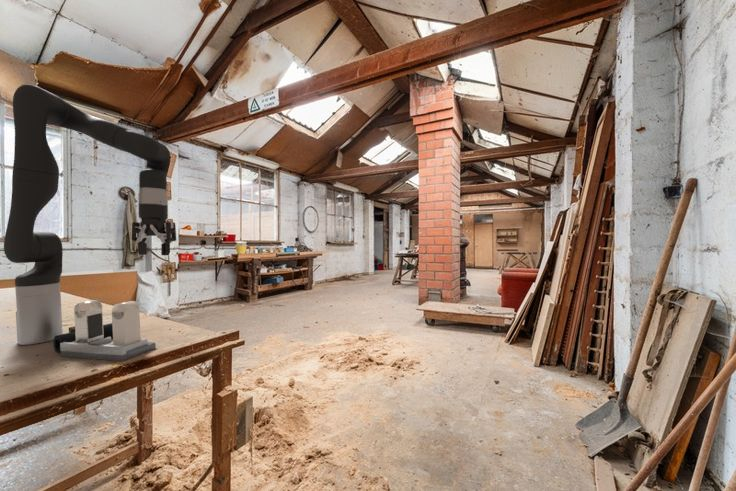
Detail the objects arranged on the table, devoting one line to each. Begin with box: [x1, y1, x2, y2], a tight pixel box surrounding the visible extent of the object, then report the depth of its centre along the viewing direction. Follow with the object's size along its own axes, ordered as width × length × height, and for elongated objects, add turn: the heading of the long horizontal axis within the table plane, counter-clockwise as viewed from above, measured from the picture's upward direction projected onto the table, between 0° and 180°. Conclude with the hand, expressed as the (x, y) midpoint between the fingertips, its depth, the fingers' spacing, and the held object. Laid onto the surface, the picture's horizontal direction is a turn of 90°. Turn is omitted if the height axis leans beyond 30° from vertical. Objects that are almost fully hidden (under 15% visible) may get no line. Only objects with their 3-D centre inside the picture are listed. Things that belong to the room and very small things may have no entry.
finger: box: [111, 300, 142, 346], centre depth 79 cm, size 4×4×12 cm
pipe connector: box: [52, 322, 113, 354], centre depth 89 cm, size 12×5×15 cm
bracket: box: [60, 299, 156, 362], centre depth 80 cm, size 20×9×14 cm, turn 78°
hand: (154, 255), depth 95 cm, fingers open, 8 cm apart
